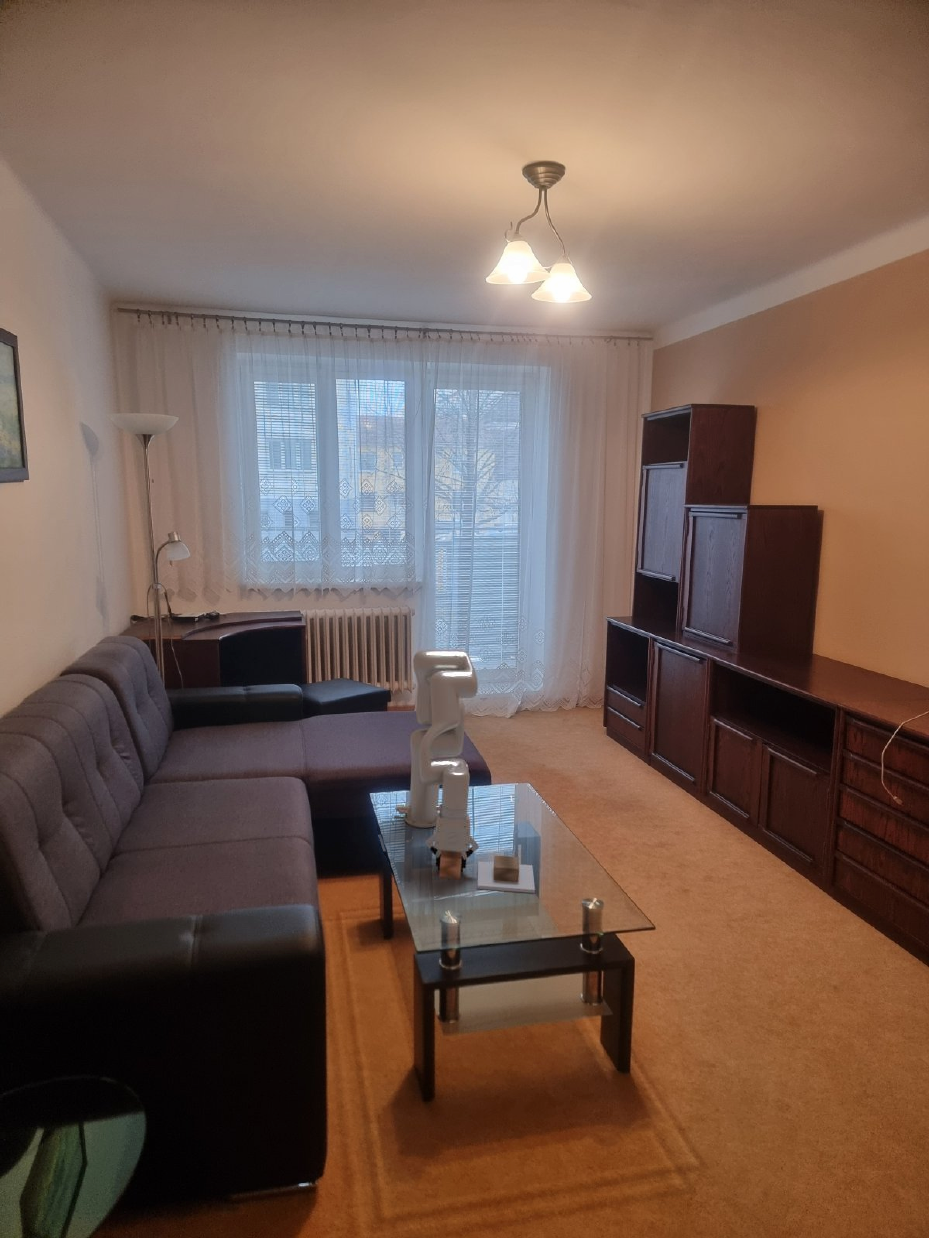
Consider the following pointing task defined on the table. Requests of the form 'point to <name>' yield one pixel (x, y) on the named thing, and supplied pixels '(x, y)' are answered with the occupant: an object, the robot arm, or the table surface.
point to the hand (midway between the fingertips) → (450, 868)
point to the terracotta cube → (450, 864)
